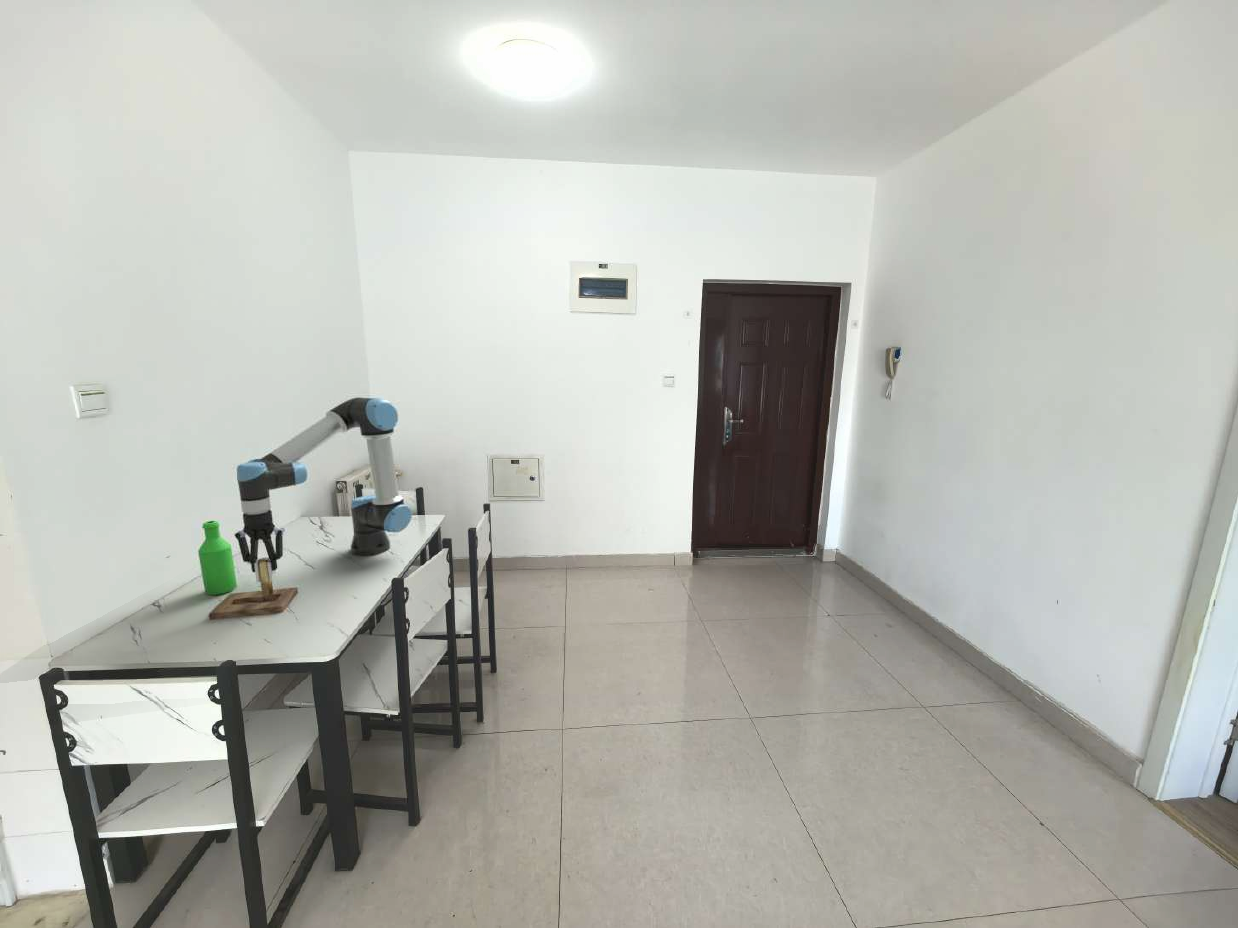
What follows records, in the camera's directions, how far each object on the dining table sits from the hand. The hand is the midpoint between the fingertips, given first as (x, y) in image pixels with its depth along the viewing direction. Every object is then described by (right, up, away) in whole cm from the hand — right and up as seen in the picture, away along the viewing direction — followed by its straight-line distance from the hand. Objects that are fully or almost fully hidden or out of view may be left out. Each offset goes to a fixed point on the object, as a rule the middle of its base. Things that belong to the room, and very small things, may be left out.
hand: (266, 580), depth 164 cm
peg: (0, -5, +1) cm, 5 cm away
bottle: (-23, -6, +11) cm, 27 cm away
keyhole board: (-4, -9, +1) cm, 9 cm away
